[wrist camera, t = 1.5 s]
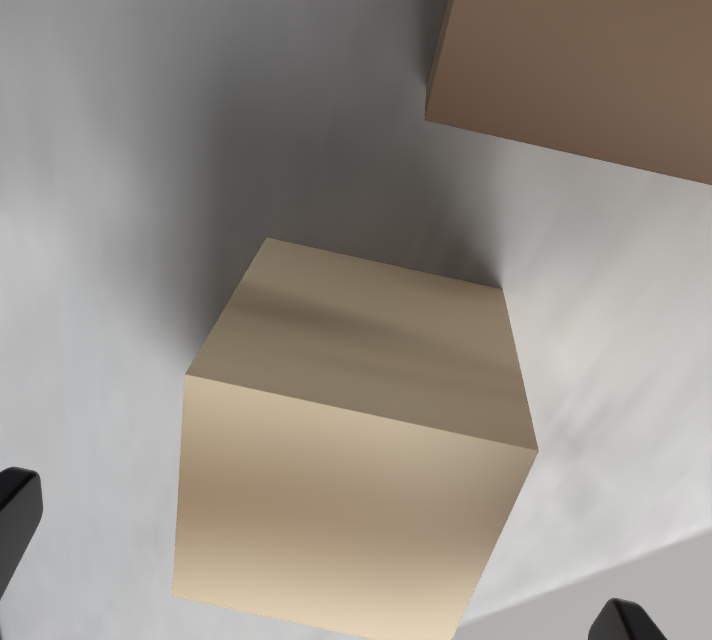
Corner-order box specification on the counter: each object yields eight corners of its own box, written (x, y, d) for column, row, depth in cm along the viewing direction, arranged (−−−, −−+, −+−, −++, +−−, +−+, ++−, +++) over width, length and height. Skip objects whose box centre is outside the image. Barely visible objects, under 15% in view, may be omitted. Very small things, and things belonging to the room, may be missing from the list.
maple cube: (440, 461, 15) (445, 654, 11) (244, 418, 15) (172, 596, 11) (502, 287, 13) (537, 450, 9) (267, 236, 13) (185, 374, 9)
